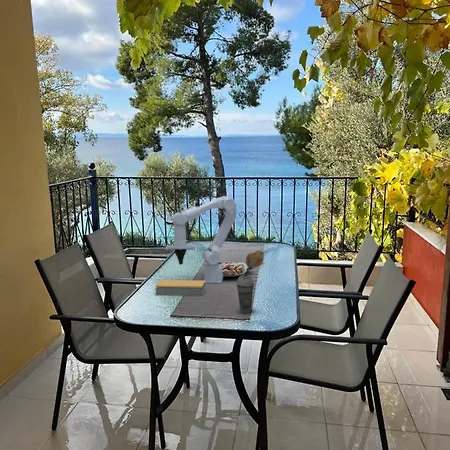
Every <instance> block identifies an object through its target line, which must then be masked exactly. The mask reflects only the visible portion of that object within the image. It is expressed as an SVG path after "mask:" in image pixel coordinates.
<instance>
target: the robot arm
mask: <svg viewBox="0 0 450 450" xmlns="http://www.w3.org/2000/svg"><path fill="white" fill-rule="evenodd" d="M237 206H238V205H237V202H236V201H235V199H234V198H232V197H229V196H227V195H222V196H220V197H216V198H214V199H212V200H211V201H207V202H206V203H204V204H202V205H200V206H196V205H195V206H193V205H191V206H189V207H188V208H186V209H184V210H180V212H176V213H174V214H173V216H172V221H173V236H174V237H173V239H174V241H173V242H174V244H172V245H170V244H169V245H168V244H167V245H165V250H166V251H170V250H171V251H174V254H175V256H176V257H177V261H178V265H183V264H184V258H185V255H186V252H187V251H196V245H188V244H187V231H186V229H187V228H186V223H187V222H191V221H193V220H194V219H197V218H199V217H200V216H201V214H203V213H205V212H208V211H210V210H213V209H221V210H222V211H223V214H224V218H223V221H222V222H221V224H220V226H219V228H218V230H217V231H216V234H215V237H214V238H213V240H212V242H211V244H209V245H208V246H207V248H206V249H205V250H204V251H203V252H202V258H203V260H204V261H203V272H204V273H203V274H204V275H203V278H204V279H203V280H202V281H205V284H209V283H211V284H221V283H222V282H223V279H224V273H223V269H224V267H223V263H219V261H220V255H221V250H222V249H221V248H222V247H223V245H224V242H225V241H226V238H227V237H228V235H229V233H230V231H231V229H232V227H233V225H234V223H235V221H236V219H237Z"/></svg>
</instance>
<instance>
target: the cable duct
mask: <svg viewBox="0 0 450 450" xmlns="http://www.w3.org/2000/svg"><path fill="white" fill-rule="evenodd" d="M205 291H206V283H205V284H204V285H203V287H202V288H186V287H155V295H156V296H194V297H195V296H197V297H203V296H204V293H205Z"/></svg>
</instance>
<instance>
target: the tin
mask: <svg viewBox="0 0 450 450" xmlns="http://www.w3.org/2000/svg"><path fill="white" fill-rule="evenodd" d="M264 258H265V255H264V253H263V251H262V250H255V251H252V252H249V253H248V254H247V255H246V257H245V263H246V267H248V266H249V267H251V269H255V268H256V267H259V266H261V265H263V262H264ZM249 267H248V268H249ZM254 267H255V268H254Z"/></svg>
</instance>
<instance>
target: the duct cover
mask: <svg viewBox="0 0 450 450" xmlns="http://www.w3.org/2000/svg"><path fill="white" fill-rule="evenodd" d="M204 284H205V285H206V283H205V281H203V280H191V279H189V280H188V279H160V280H159V281H158V282H157V283H156V284H155V288H156V287H186V288H202V287H203V285H204Z"/></svg>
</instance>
